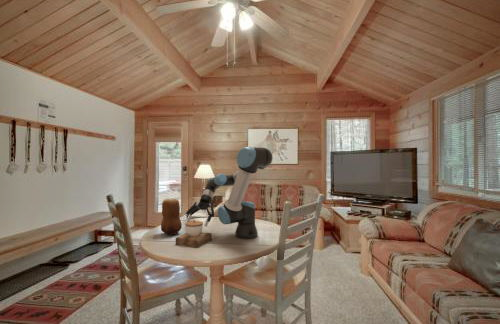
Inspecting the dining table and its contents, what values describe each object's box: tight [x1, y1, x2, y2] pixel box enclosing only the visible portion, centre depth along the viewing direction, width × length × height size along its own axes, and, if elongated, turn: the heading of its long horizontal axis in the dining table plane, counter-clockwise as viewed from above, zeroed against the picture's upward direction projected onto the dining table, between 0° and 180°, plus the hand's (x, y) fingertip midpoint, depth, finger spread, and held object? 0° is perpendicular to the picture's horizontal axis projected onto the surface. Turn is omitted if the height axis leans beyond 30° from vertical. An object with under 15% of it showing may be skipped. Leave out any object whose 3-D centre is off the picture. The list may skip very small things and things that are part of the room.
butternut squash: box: [160, 198, 183, 236], centre depth 179 cm, size 14×13×25 cm
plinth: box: [175, 231, 213, 249], centre depth 162 cm, size 16×16×4 cm
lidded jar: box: [185, 219, 204, 237], centre depth 162 cm, size 11×11×9 cm
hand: (195, 225), depth 165 cm, fingers open, 13 cm apart
